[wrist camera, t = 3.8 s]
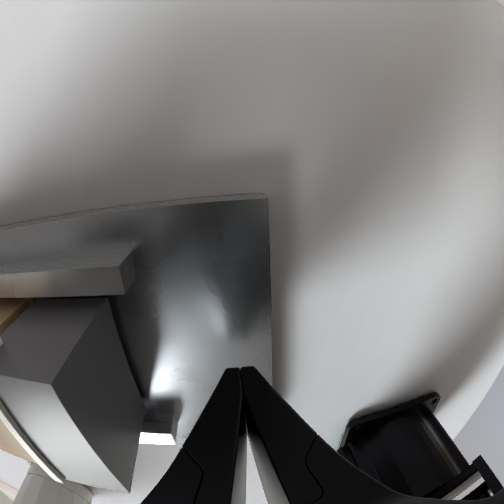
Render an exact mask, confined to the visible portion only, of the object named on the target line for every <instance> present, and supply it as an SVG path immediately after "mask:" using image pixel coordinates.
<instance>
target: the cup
mask: <svg viewBox="0 0 504 504" xmlns="http://www.w3.org/2000/svg"><path fill="white" fill-rule="evenodd" d="M92 497H93V494H92V492H91V491H90V490H89V489H88V488H86V487H85V486H84V485H82V484H80V483H76V482H73V481H69V480H65V482H64V484H63V483H60V482H57V481H55V480H54V479H53V478H52V477H50V476H49V475H48V474H47V473H46V472H45V471H44V470H43V469H42V468H41V467H40V465H39V464H36V463H32V464H31V465H30V468H29V470H28V473H27V475H26V477H25V479H24V481H23V483H22V486H21V488H20V490H19V492H18V494H17V496H16V498H15V500H14V502H13V504H91V502H92Z"/></svg>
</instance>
